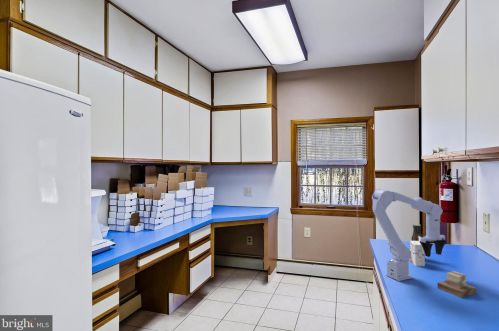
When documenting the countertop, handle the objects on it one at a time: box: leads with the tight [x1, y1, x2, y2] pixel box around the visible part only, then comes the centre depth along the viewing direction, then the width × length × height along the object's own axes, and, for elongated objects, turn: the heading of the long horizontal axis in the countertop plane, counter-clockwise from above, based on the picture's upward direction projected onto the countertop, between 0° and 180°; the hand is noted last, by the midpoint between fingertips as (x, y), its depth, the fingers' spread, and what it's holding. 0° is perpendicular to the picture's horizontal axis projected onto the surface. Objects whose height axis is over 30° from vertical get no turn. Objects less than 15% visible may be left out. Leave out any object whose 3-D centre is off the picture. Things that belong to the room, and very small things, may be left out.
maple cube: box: [446, 270, 467, 288], centre depth 127 cm, size 5×5×5 cm
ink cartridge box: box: [409, 236, 426, 267], centre depth 161 cm, size 9×5×15 cm, turn 168°
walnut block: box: [437, 280, 477, 299], centre depth 127 cm, size 10×10×3 cm
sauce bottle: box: [410, 223, 424, 241], centre depth 170 cm, size 6×6×20 cm
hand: (433, 255), depth 143 cm, fingers open, 7 cm apart
